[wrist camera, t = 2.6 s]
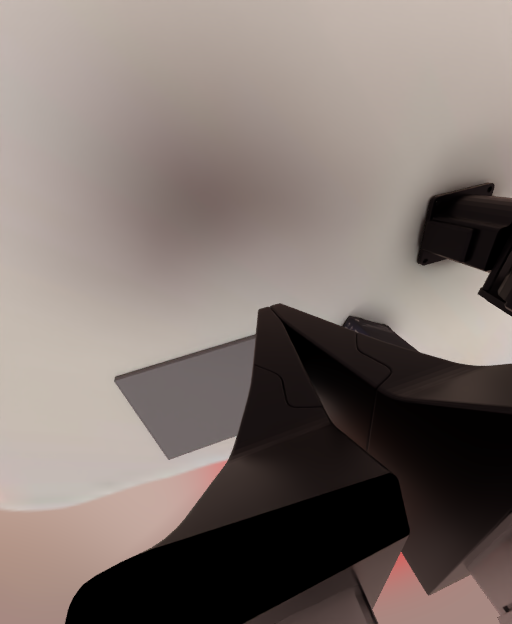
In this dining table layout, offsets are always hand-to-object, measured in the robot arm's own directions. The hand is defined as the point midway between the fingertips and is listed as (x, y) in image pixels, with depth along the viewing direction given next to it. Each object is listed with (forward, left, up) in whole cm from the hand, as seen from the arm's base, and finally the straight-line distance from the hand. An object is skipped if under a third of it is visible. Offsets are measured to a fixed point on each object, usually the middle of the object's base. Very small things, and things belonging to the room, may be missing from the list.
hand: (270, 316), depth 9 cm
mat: (+3, +17, -12) cm, 21 cm away
